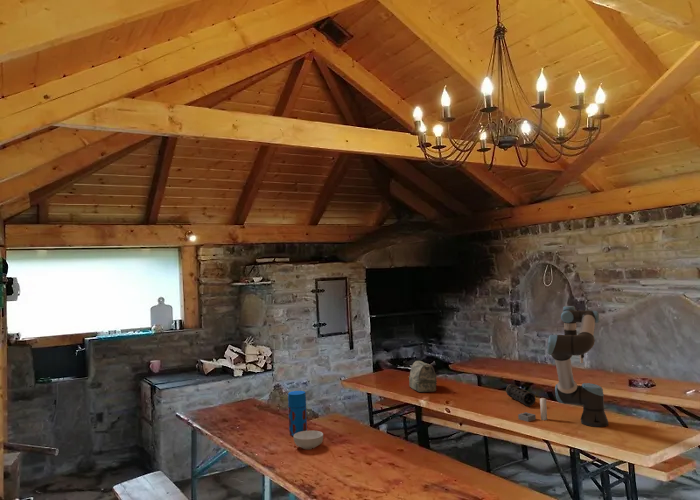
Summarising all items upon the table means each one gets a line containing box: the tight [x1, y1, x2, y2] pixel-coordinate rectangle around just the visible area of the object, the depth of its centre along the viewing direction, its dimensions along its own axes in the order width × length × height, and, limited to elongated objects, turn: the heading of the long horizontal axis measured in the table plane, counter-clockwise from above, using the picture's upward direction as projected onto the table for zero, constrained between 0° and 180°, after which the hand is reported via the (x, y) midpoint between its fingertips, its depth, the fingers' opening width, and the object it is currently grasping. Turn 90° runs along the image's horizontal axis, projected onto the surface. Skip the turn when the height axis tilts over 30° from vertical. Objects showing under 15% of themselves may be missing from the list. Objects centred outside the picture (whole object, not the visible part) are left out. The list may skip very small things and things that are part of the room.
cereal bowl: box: [293, 429, 324, 450], centre depth 290 cm, size 17×17×7 cm
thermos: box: [287, 390, 308, 437], centre depth 315 cm, size 11×11×25 cm
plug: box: [539, 397, 548, 421], centre depth 324 cm, size 4×4×13 cm
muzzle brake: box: [505, 384, 537, 408], centre depth 366 cm, size 10×28×10 cm, turn 8°
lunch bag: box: [408, 360, 438, 393], centre depth 417 cm, size 26×18×22 cm
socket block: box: [517, 411, 537, 423], centre depth 326 cm, size 7×7×3 cm
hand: (572, 361), depth 339 cm, fingers open, 13 cm apart
